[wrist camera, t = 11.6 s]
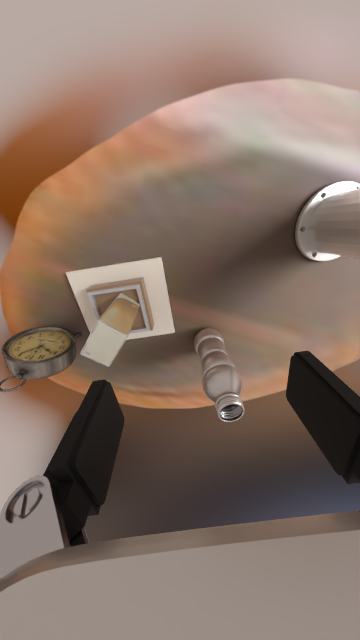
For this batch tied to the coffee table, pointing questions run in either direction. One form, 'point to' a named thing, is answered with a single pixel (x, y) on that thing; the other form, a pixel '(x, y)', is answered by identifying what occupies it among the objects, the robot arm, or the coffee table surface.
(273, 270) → the coffee table surface
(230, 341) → the coffee table surface
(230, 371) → the plastic bottle
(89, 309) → the display base
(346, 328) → the coffee table surface
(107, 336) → the skincare box
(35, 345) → the alarm clock
